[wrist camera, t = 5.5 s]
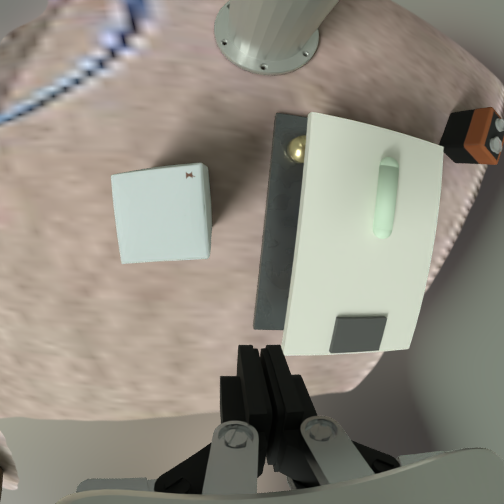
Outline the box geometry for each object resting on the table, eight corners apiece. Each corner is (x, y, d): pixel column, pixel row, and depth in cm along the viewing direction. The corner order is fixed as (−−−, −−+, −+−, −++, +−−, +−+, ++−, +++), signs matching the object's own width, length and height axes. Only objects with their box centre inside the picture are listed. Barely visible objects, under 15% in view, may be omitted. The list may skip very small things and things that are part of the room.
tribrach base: (275, 114, 33) (285, 104, 28) (417, 145, 36) (442, 143, 30) (252, 325, 39) (258, 347, 34) (387, 325, 42) (405, 342, 36)
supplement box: (145, 171, 33) (108, 170, 21) (209, 166, 34) (205, 160, 22) (150, 235, 35) (119, 265, 23) (213, 230, 36) (211, 259, 23)
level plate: (304, 117, 28) (318, 107, 24) (431, 148, 30) (454, 145, 26) (278, 344, 33) (287, 365, 29) (399, 340, 35) (417, 356, 31)
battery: (436, 147, 36) (485, 145, 27) (450, 111, 35) (496, 104, 25) (454, 164, 37) (502, 166, 27) (467, 129, 36) (513, 126, 26)
